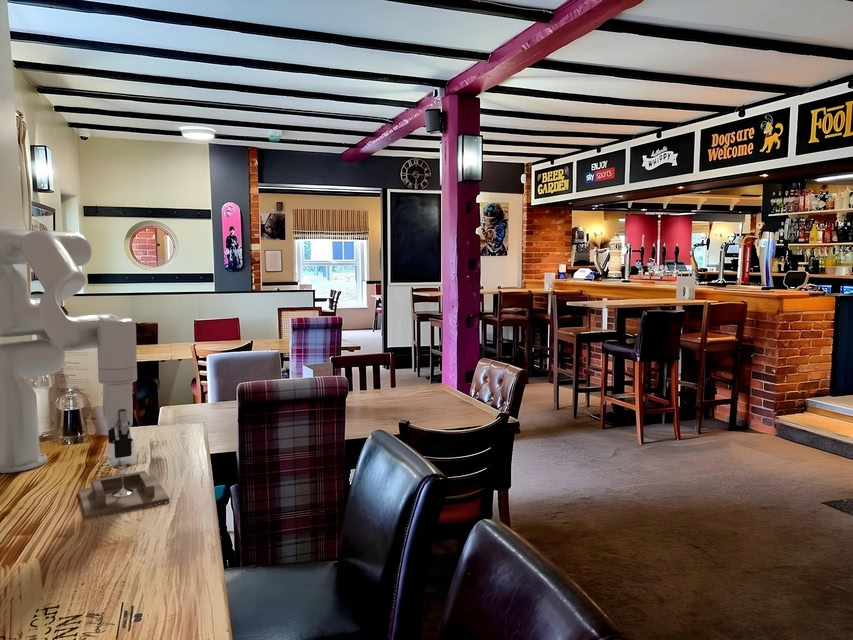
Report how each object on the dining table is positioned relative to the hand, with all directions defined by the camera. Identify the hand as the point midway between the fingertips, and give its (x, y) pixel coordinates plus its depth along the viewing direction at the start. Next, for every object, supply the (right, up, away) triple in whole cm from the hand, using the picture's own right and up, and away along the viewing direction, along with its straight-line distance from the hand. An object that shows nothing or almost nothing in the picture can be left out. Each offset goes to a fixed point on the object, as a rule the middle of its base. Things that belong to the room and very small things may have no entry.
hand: (119, 450), depth 132 cm
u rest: (0, -11, +1) cm, 11 cm away
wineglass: (0, -10, +1) cm, 10 cm away
